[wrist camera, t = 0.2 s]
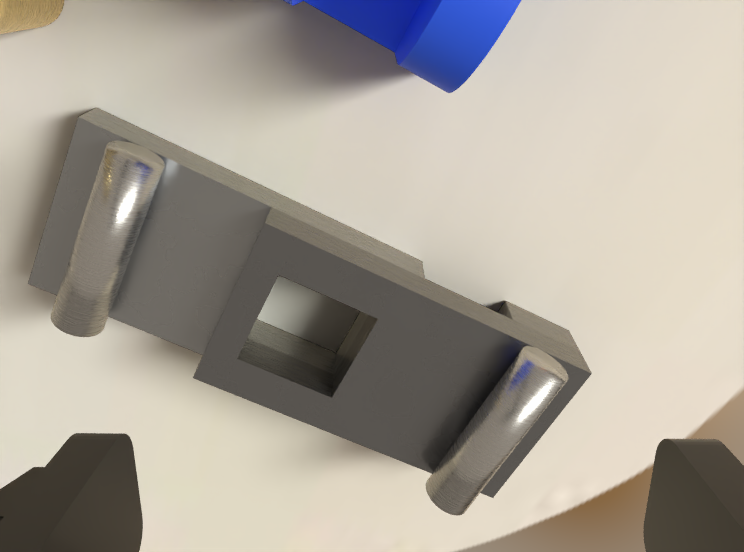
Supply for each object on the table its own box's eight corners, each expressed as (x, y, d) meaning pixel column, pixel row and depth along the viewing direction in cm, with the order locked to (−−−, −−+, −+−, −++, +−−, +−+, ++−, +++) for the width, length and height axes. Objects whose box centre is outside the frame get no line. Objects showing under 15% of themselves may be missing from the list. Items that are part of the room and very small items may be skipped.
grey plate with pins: (96, 107, 29) (27, 142, 23) (568, 330, 34) (608, 404, 28) (47, 266, 33) (-24, 330, 27) (481, 447, 38) (500, 533, 32)
